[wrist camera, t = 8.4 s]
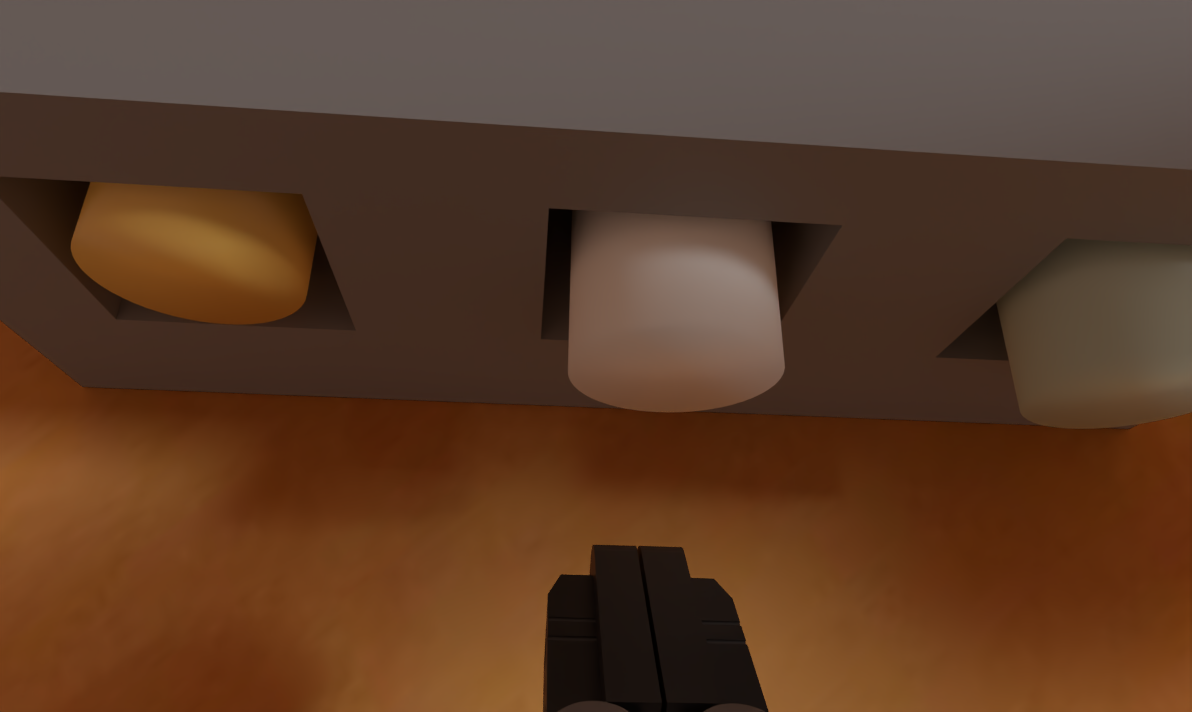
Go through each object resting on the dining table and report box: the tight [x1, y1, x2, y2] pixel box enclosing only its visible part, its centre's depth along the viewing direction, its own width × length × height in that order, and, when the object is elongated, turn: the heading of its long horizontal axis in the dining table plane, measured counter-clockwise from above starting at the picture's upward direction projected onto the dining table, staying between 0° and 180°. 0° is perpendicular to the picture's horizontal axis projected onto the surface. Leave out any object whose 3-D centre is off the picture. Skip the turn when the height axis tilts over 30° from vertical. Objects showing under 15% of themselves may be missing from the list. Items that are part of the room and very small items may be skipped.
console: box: [0, 0, 1192, 429], centre depth 19 cm, size 28×8×11 cm, turn 90°
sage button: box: [996, 238, 1192, 429], centre depth 17 cm, size 4×6×4 cm, turn 0°
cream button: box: [568, 210, 785, 412], centre depth 17 cm, size 4×6×4 cm, turn 0°
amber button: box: [71, 182, 318, 325], centre depth 17 cm, size 4×6×4 cm, turn 0°
